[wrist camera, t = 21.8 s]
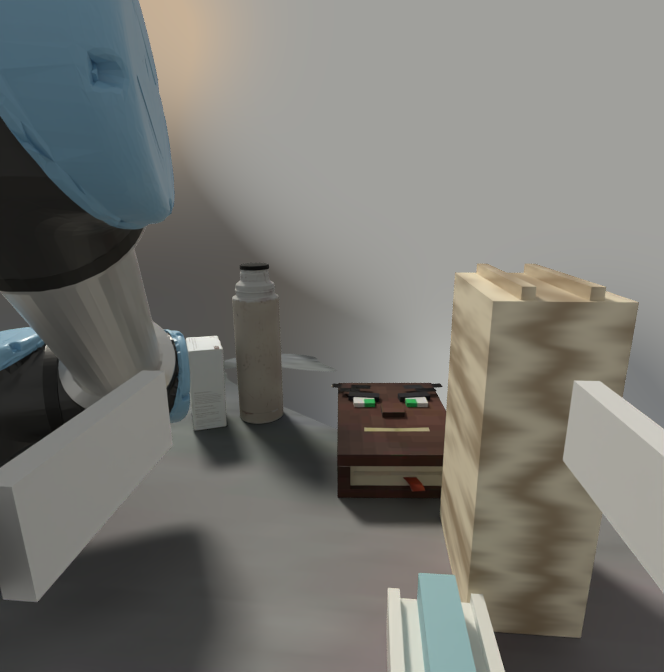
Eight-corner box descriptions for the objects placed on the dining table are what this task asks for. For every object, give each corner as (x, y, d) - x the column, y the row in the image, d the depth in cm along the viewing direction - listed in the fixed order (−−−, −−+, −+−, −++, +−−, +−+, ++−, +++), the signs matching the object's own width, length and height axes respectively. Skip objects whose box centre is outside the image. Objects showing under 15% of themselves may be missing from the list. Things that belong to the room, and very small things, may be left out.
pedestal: (464, 629, 41) (494, 287, 33) (439, 515, 56) (455, 263, 48) (580, 638, 40) (641, 288, 32) (523, 519, 55) (553, 263, 47)
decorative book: (327, 458, 56) (331, 374, 85) (327, 511, 58) (332, 411, 87) (485, 458, 55) (435, 374, 84) (480, 512, 57) (433, 411, 86)
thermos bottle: (231, 414, 85) (220, 263, 77) (266, 402, 90) (259, 260, 83) (256, 428, 79) (247, 267, 72) (292, 414, 84) (286, 263, 77)
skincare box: (190, 413, 85) (183, 337, 81) (223, 408, 87) (217, 334, 83) (193, 432, 78) (185, 350, 74) (229, 427, 80) (223, 346, 76)
